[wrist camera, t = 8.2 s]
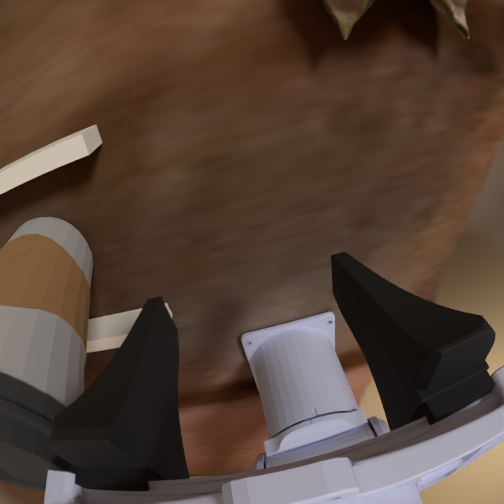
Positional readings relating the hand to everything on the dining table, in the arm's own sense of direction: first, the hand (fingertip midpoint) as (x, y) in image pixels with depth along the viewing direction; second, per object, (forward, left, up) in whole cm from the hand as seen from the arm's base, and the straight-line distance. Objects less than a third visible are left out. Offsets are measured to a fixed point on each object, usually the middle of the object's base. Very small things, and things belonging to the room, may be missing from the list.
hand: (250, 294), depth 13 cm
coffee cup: (+1, +13, -8) cm, 15 cm away
